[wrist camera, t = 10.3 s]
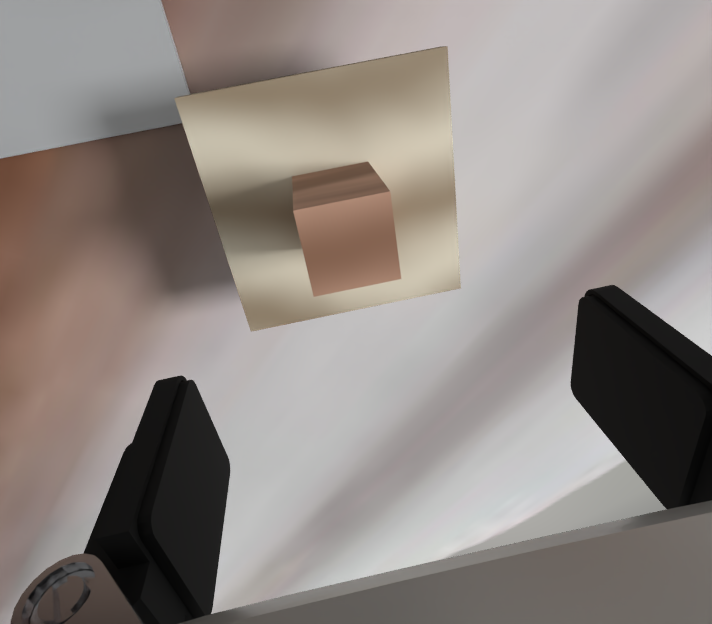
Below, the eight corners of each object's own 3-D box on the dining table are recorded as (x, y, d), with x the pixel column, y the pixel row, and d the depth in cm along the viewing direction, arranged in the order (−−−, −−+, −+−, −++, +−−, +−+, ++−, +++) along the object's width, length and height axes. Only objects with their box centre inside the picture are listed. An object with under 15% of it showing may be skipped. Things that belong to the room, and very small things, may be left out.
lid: (178, 96, 22) (137, 112, 16) (441, 46, 23) (497, 44, 17) (252, 323, 29) (242, 395, 23) (455, 281, 29) (499, 341, 23)
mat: (-221, -156, 20) (-229, -159, 20) (95, -210, 21) (92, -214, 21) (-36, 164, 27) (-40, 166, 27) (198, 119, 28) (197, 120, 28)
